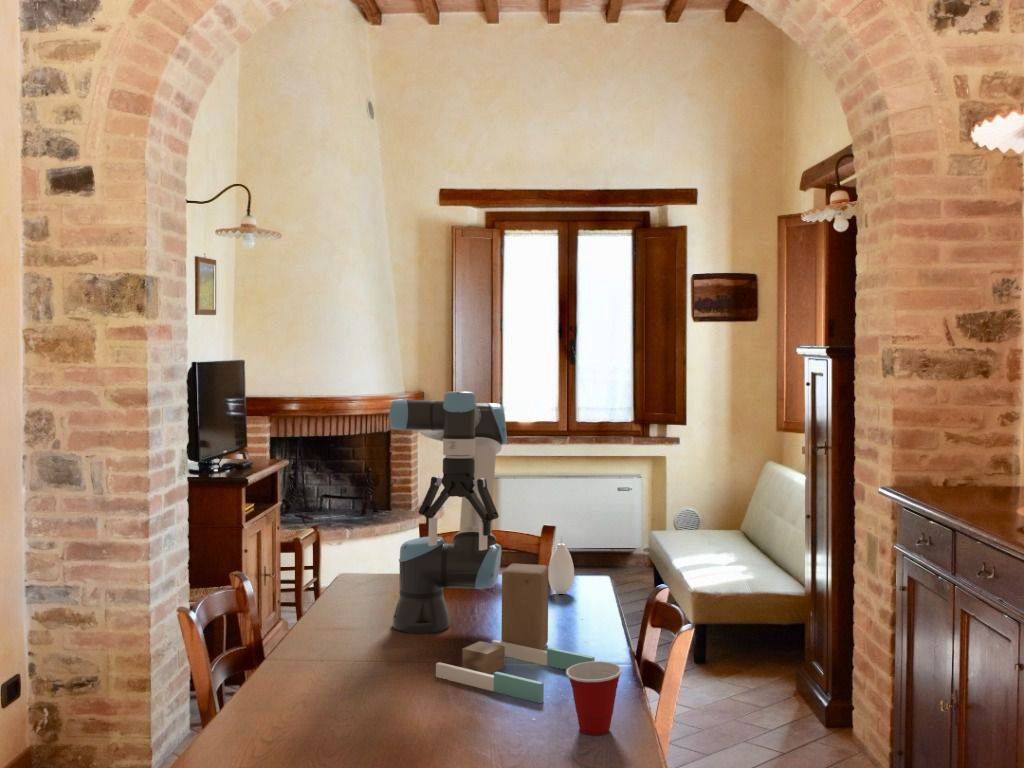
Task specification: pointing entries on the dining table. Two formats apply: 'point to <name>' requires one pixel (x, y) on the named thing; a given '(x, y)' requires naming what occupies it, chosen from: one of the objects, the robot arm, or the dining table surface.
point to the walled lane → (509, 682)
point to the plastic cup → (594, 694)
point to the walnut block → (483, 657)
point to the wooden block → (525, 605)
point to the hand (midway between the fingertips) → (457, 547)
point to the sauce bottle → (561, 570)
